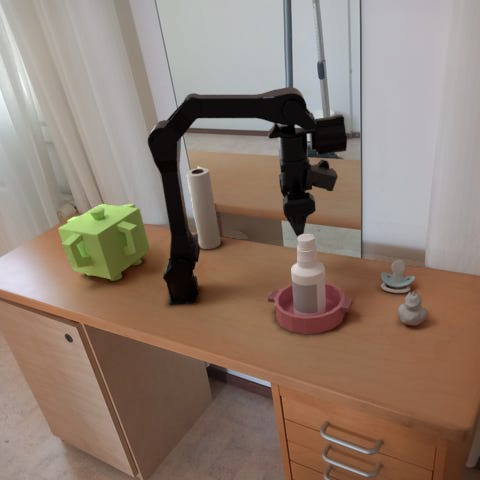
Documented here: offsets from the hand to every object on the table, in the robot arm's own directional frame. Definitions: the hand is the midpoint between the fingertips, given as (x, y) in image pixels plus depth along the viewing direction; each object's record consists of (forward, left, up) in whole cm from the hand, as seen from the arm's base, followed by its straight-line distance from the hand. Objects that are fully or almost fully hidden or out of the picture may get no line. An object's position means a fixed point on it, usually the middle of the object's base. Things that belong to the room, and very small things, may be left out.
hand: (298, 228), depth 108 cm
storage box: (-50, +19, -15) cm, 56 cm away
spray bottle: (+1, -12, -15) cm, 19 cm away
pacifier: (+21, -5, -15) cm, 26 cm away
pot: (+1, -12, -15) cm, 19 cm away
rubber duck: (+21, -18, -15) cm, 31 cm away
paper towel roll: (-23, +27, -15) cm, 39 cm away
